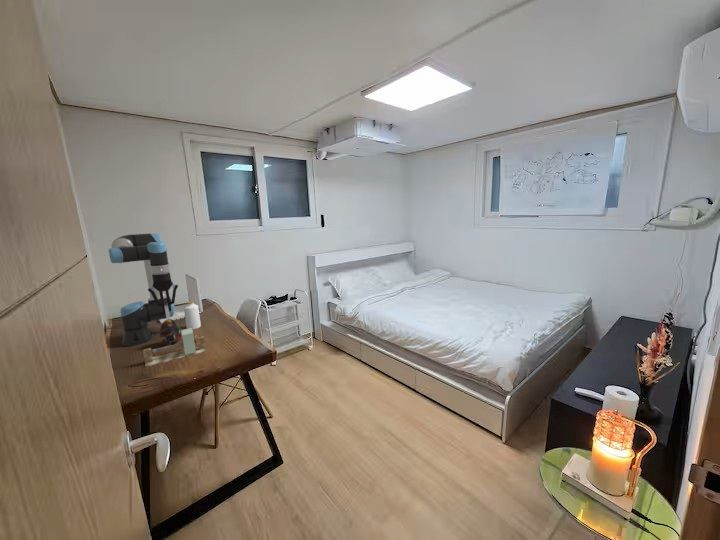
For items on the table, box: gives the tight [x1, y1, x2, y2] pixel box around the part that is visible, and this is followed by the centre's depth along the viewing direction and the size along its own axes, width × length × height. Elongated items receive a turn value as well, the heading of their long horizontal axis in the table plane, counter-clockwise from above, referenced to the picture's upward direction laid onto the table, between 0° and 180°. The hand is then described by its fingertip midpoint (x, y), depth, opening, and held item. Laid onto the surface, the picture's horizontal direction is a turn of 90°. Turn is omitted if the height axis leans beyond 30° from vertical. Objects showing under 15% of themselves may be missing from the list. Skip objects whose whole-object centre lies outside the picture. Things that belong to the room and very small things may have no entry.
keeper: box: [181, 328, 196, 355], centre depth 155 cm, size 5×9×11 cm, turn 33°
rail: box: [142, 333, 207, 367], centre depth 153 cm, size 27×9×8 cm, turn 123°
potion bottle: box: [184, 301, 202, 330], centre depth 191 cm, size 8×8×18 cm
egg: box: [159, 319, 182, 346], centre depth 167 cm, size 11×11×15 cm
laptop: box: [158, 272, 204, 324], centre depth 224 cm, size 34×28×28 cm
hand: (168, 317), depth 149 cm, fingers closed
